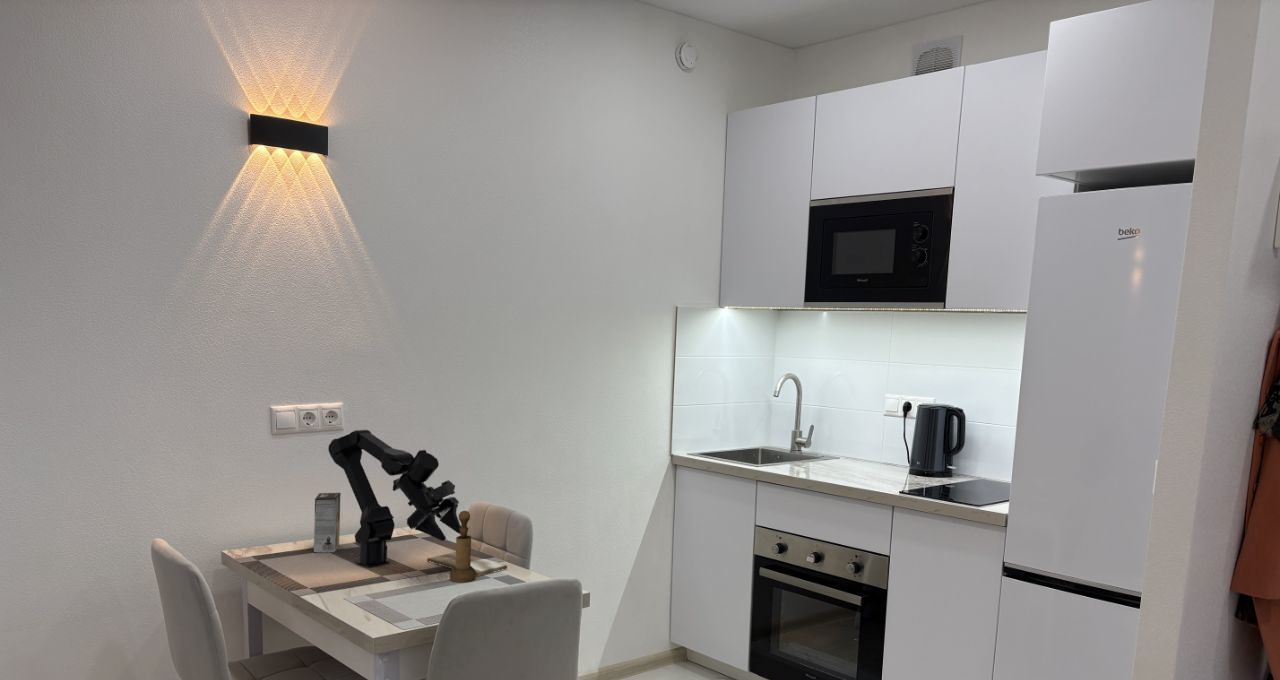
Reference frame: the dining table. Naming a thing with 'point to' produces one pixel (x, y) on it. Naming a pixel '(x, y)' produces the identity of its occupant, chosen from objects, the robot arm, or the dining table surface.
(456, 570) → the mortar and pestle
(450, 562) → the grey brown flat rectangle
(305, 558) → the dining table surface
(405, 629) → the dining table surface
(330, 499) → the coffee box
